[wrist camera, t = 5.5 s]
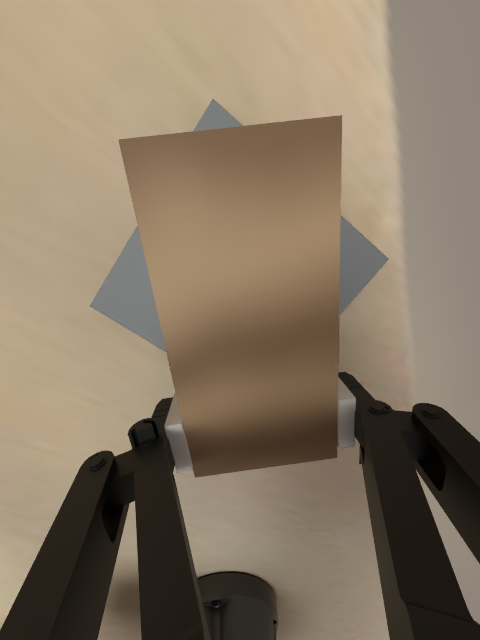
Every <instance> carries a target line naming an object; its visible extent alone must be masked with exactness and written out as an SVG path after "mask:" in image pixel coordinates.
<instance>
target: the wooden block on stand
mask: <svg viewBox="0 0 480 640" xmlns="http://www.w3.org/2000/svg"><path fill="white" fill-rule="evenodd" d="M119 144H120V149H121V153H122V157H123V162H124V166H125V171H126V175H127V180H128V184H129V188H130V193H131V197H132V202H133V206H134V210H135V215H136V219H137V224H138V228H139V233H140V237H141V241H142V246H143V250H144V255H145V259H146V264H147V268H148V272H149V277H150V281H151V286H152V290H153V294H154V299H155V303H156V308H157V312H158V317H159V321H160V325H161V330H162V334H163V339H164V343H165V348H166V352H167V356H168V361H169V365H170V370H171V374H172V378H173V383H174V387H175V392H176V396H177V401H178V405H179V409H180V414H181V418H182V423H183V427H184V432H185V436H186V440H187V444H188V448H189V452H190V456H191V460H192V464H193V471H194V476H195V477H202V476H209V475H216V474H223V473H230V472H237V471H245V470H252V469H259V468H266V467H273V466H281V465H288V464H295V463H302V462H309V461H316V460H324V459H331V458H337V426H338V356H339V287H340V218H341V149H342V115H341V116H332V117H322V118H313V119H304V120H295V121H286V122H276V123H267V124H258V125H249V126H240V127H230V128H221V129H212V130H203V131H193V132H184V133H175V134H166V135H157V136H147V137H138V138H129V139H120V140H119Z"/></svg>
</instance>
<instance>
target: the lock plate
mask: <svg viewBox="0 0 480 640" xmlns="http://www.w3.org/2000/svg"><path fill="white" fill-rule="evenodd" d="M240 126H243V125H241V124H240V123H239V122H238V121H237V120H236V119H235V118H234V117H233V116H232V115H231V114H229V113H228V112H227V111H226V110H225V109H224V108H223V107H222V106H221V105H220V104H218V103H217V102H216V101H215V100H214V99H212V101H211V103H210V104H209V106H208V108H207V109H206V111H205V113H204V114H203V116H202V118H201V119H200V121H199V123H198V124H197V126H196V128H195V130H194V131H203V130H212V129H221V128H230V127H240ZM387 261H388V258H387V257H386V256H385V255H384V254H383V253H382V252H381V251H379V250H378V249H377V248H376V247H375V246H374V245H373V244H372V243H371V242H370V241H368V240H367V239H366V238H365V237H364V236H363V235H362V234H361V233H360V232H359V231H358V230H356V229H355V228H354V227H353V226H352V225H351V224H350V223H349V222H348V221H347V220H345V219H344V218H343V217H342V216H341V218H340V287H339V315H340V314H341V313H342V312H343V311H344V310H345V308H346V307H347V306H348V305H349V304H350V303H351V302H352V300H353V299H354V298H355V297H356V296H357V295H358V294H359V293H360V291H361V290H362V289H363V288H364V287H365V286H366V285H367V283H368V282H369V281H370V280H371V279H372V278H373V277H374V275H375V274H376V273H377V272H378V271H379V270H380V269H381V267H382V266H383V265H384V264H385V263H386V262H387ZM90 307H92V308H94V309H95V310H97V311H99V312H100V313H102V314H104V315H105V316H107V317H109V318H110V319H112V320H114V321H115V322H117V323H119V324H120V325H122V326H124V327H125V328H127V329H129V330H130V331H132V332H134V333H135V334H137V335H139V336H140V337H142V338H144V339H145V340H147V341H149V342H150V343H152V344H154V345H155V346H157V347H159V348H160V349H162V350H164V351H165V352H166V348H165V343H164V339H163V334H162V330H161V325H160V321H159V317H158V312H157V308H156V303H155V299H154V294H153V290H152V286H151V281H150V277H149V272H148V268H147V264H146V259H145V255H144V250H143V246H142V241H141V237H140V233H139V228H138V226H137V227H136V229H135V231H134V232H133V234H132V236H131V237H130V239H129V241H128V242H127V244H126V246H125V247H124V249H123V251H122V252H121V254H120V256H119V258H118V259H117V261H116V263H115V264H114V266H113V268H112V269H111V271H110V273H109V274H108V276H107V278H106V279H105V281H104V283H103V284H102V286H101V288H100V290H99V291H98V293H97V295H96V296H95V298H94V300H93V301H92V303H91V305H90Z"/></svg>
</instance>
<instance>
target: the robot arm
mask: <svg viewBox="0 0 480 640" xmlns="http://www.w3.org/2000/svg"><path fill="white" fill-rule="evenodd" d="M128 436H129V439H130V442H131V445H132V448H133V449H132V450H130V451H128V452H125V453H123V454H120V455H118V456H115V457H114V454H113V453H112V452H111V451H101V452H98V453H96V454H94V455H92V456H91V457H89V458H88V459H87V460H86V461H85V462H84V463H83V464H82V466H81V467H80V469H79V471H78V473H77V475H76V477H75V480H74V482H73V484H72V486H71V488H70V490H69V492H68V494H67V496H66V498H65V500H64V502H63V504H62V506H61V508H60V510H59V512H58V514H57V516H56V518H55V520H54V522H53V524H52V526H51V528H50V530H49V532H48V534H47V536H46V538H45V541H44V543H43V545H42V547H41V549H40V551H39V553H38V555H37V557H36V559H35V561H34V563H33V565H32V567H31V569H30V571H29V573H28V575H27V577H26V579H25V581H24V583H23V585H22V587H21V589H20V591H19V593H18V595H17V597H16V599H15V602H14V604H13V606H12V608H11V610H10V612H9V614H8V616H7V618H6V620H5V622H4V624H3V626H2V628H1V630H0V640H97V638H98V634H99V630H100V626H101V621H102V617H103V613H104V609H105V605H106V600H107V596H108V592H109V588H110V583H111V579H112V575H113V571H114V567H115V562H116V558H117V554H118V550H119V545H120V541H121V537H122V533H123V529H124V524H125V520H126V516H127V512H128V508H129V503H131V502H133V501H135V507H136V528H137V549H138V570H139V592H140V613H141V634H142V640H276V631H277V626H278V614H277V607H276V600H275V595H274V592H273V590H272V589H271V587H270V586H269V585H268V584H266V583H265V582H264V581H262V580H260V579H258V578H256V577H253V576H250V575H246V574H240V573H220V574H214V575H209V576H206V577H203V578H200V579H198V580H197V576H196V572H195V568H194V563H193V559H192V554H191V550H190V545H189V541H188V536H187V532H186V527H185V523H184V519H183V514H182V510H181V505H180V501H179V496H178V492H177V487H176V483H175V479H174V475H173V470H174V465H175V468H176V471H177V473H179V472H186V471H192V470H193V464H192V460H191V456H190V452H189V448H188V444H187V440H186V436H185V432H184V427H183V423H182V418H181V414H180V409H179V405H178V401H177V396H176V392H175V394H174V397H172V398H166V399H162V400H161V401H160V402H159V403H158V404H157V405H156V408H155V410H154V413H153V415H152V418H147V419H143V420H141V421H138V422H137V423H135V424H134V425H133V426H132V427H131V428H130V429H129V432H128ZM355 437H356V439H357V440H358V442H359V443H360V459H359V464H362V469H363V475H364V481H365V487H366V494H367V500H368V506H369V512H370V518H371V525H372V531H373V537H374V543H375V550H376V556H377V562H378V568H379V575H380V581H381V587H382V593H383V599H384V606H385V612H386V618H387V624H388V631H389V637H390V640H480V625H479V624H478V623H477V622H476V621H474V620H473V618H472V617H471V615H470V613H469V611H468V608H467V606H466V603H465V600H464V598H463V595H462V593H461V590H460V587H459V584H458V582H457V579H456V576H455V574H454V571H453V568H452V566H451V563H450V560H449V558H448V555H447V553H446V550H445V547H444V544H443V542H442V539H441V536H440V534H439V531H438V528H437V526H436V523H435V521H434V518H433V515H432V512H431V510H430V507H429V505H428V502H427V499H426V497H425V494H424V491H423V489H422V486H421V483H420V481H419V478H418V475H417V473H416V470H417V472H418V473H419V475H420V476H421V478H422V479H423V481H424V482H425V484H426V485H427V487H428V488H429V489H430V491H431V492H432V494H433V495H434V497H435V498H436V500H437V501H438V503H439V504H440V506H441V507H442V509H443V510H444V512H445V513H446V515H447V516H448V518H449V519H450V520H451V522H452V523H453V525H454V526H455V528H456V529H457V531H458V532H459V534H460V535H461V537H462V538H463V540H464V541H465V543H466V544H467V546H468V547H469V549H470V550H471V552H472V553H473V555H474V556H475V557H476V559H477V560H478V562H479V563H480V442H479V441H478V440H477V439H476V438H475V437H473V436H472V435H471V434H470V433H469V432H468V431H467V430H466V429H465V428H464V427H463V426H462V425H461V424H460V423H459V422H457V421H456V420H455V419H454V418H453V417H452V416H451V415H450V414H449V413H448V412H447V411H445V410H444V409H443V408H441V407H438V406H435V405H432V404H429V403H419V404H416V405H414V406H413V410H412V412H405V411H395V410H393V409H392V408H391V407H390V406H389V405H388V404H386V403H384V402H381V401H377V400H375V399H374V398H373V397H372V396H371V395H370V394H369V393H368V392H367V391H366V390H365V389H364V388H363V387H362V385H361V384H360V383H359V382H358V381H357V380H356V379H355V378H354V377H353V376H352V375H350V374H348V373H346V372H341V373H338V426H337V445H338V447H339V448H346V447H352V446H355ZM415 469H416V470H415Z"/></svg>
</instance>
